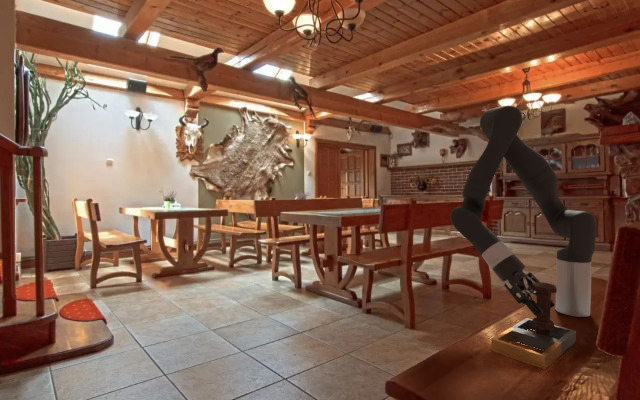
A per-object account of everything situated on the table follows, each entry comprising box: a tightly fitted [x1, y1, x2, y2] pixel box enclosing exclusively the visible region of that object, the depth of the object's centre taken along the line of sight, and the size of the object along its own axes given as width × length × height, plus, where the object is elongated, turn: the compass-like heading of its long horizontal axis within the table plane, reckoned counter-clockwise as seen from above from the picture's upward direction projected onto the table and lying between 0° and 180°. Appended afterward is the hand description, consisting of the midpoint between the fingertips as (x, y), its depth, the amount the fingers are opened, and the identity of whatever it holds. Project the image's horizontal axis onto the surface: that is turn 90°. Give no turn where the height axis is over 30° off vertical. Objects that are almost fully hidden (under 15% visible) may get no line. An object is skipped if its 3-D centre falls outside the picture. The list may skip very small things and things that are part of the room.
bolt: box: [531, 282, 557, 337], centre depth 95 cm, size 6×5×15 cm
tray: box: [490, 317, 577, 370], centre depth 92 cm, size 22×12×3 cm, turn 129°
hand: (546, 310), depth 94 cm, fingers open, 8 cm apart
